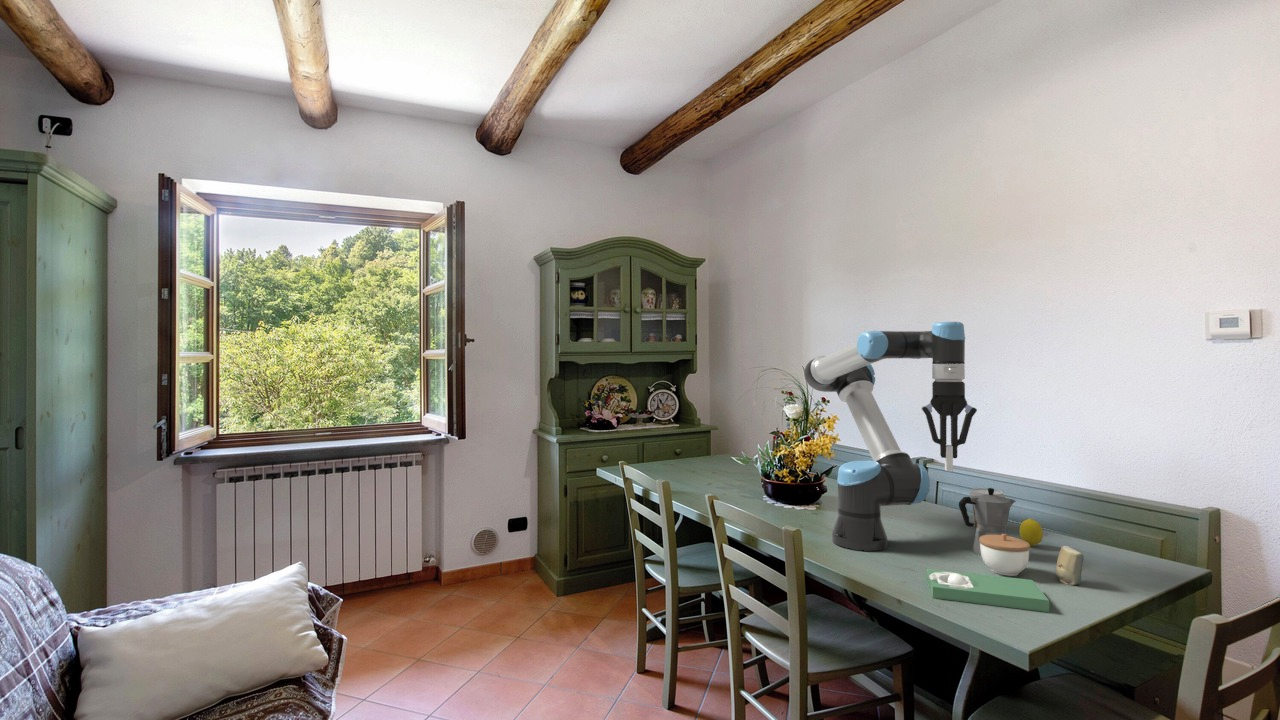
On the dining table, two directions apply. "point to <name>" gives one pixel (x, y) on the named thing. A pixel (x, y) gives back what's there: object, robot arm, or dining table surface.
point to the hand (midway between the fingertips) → (948, 470)
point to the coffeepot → (987, 515)
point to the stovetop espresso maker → (984, 492)
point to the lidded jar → (1004, 554)
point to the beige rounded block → (1069, 566)
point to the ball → (956, 579)
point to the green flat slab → (988, 590)
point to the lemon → (1031, 531)
